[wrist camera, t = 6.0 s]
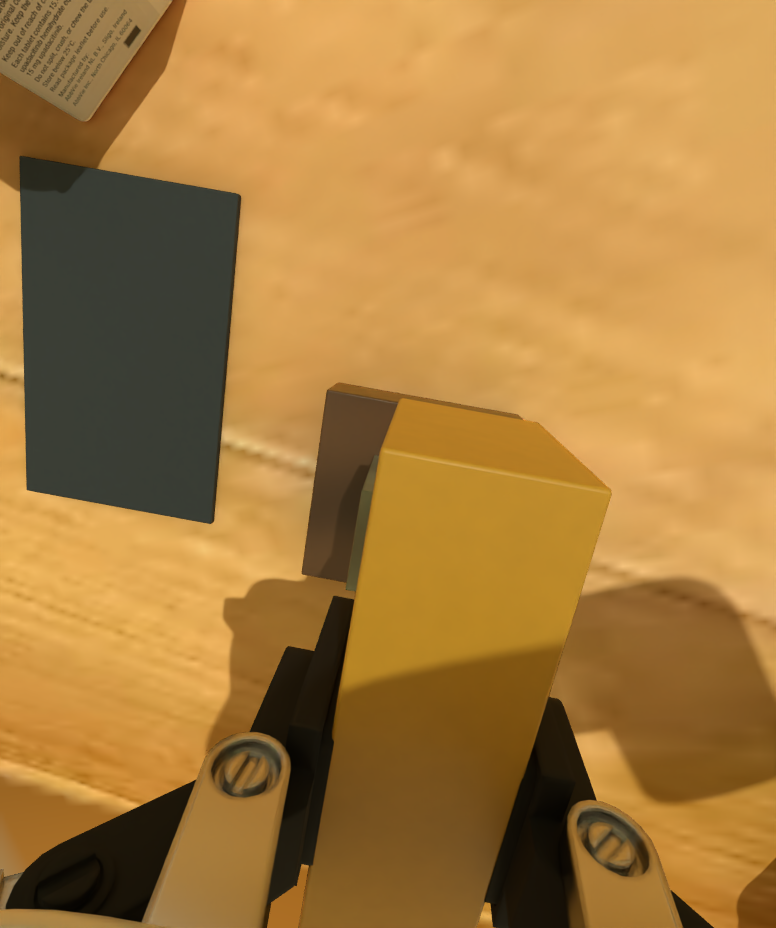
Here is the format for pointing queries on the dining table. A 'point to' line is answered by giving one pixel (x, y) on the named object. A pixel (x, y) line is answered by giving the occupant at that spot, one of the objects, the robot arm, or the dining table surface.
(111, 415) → the mat
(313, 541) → the square knob plate
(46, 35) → the container
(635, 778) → the dining table surface
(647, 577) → the dining table surface
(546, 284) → the dining table surface
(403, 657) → the bar
